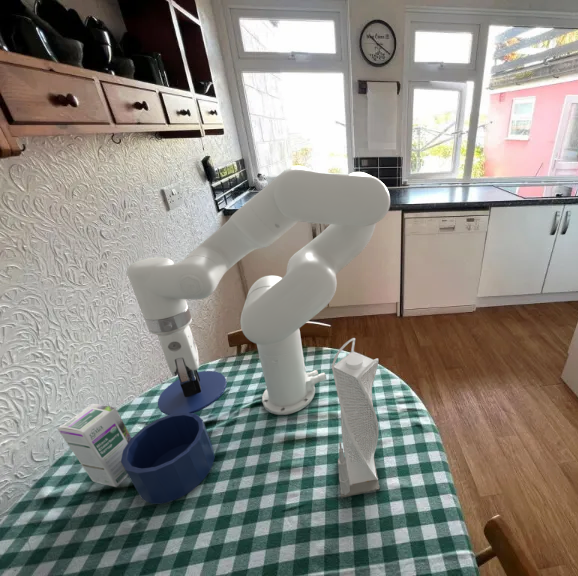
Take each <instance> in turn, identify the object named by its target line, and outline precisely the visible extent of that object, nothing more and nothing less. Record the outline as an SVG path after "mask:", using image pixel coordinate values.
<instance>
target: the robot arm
mask: <svg viewBox="0 0 578 576" xmlns="http://www.w3.org/2000/svg"><path fill="white" fill-rule="evenodd" d="M390 207H391V196H390V192H389V190H388V187H387V186H386V185H385V183H383V182H382V181H381V180H380V179H379V178H377V177H376V176H372V175H371V174H368V173H366V172H364V171H363V172H362V171H354V172H351V173H348V174H342V173H331V172H322V171H316V170H311V169H310V168H308V167H306V166H303V165H292V166H290V167H287V168H286V169H284V171H282V172H281V173H280V174H278V175H277V176H276V177H274V179H272V180H271V181H269V183H268V184H267V185H266V186H264V187H263V188H262V189H261V190H260V191H258V193H256V194H255V195H254V196H252V197H251V198H249V200H248V201H247V202H245V203H244V204H243V205H242V206H241V207H240V208H238V209H236V211H235V212H234V213H232V215H231V216H230V218H229V219H227V221H226V222H224V224H223V225H222V226H220V227H219V228H218V229H217V230H216V231H214V232H213V233H212V234H211V235H210V236H209V237H207V238H206V239H205V240H204V241H203V242H201V243H200V244H199V245H198V246H197V247H195V249H193V250H192V251H191V252H190V253H189V254H188V255H187V256H186V257H185V258H184V259H182V260H180V261H178V262H176V263H175V262H174V260H172V259H170V258H168V257H163V256H155V257H154V256H153V257H147V258H143V259H139V260H137V261H134V262H132V263H130V264H129V266H128V267H127V271H126V274H127V276H128V280H129V282H130V286H131V288H132V291H133V293H134V297H135V298H136V301H137V304H138V306H139V309H140V311H141V314H142V316H143V319H144V322H145V325H146V327H147V329H148V332H149V333H150V334H151V335H155V336H157V338H158V341H159V345H160V347H161V350H162V353H163V356H164V358H165V362H166V364H167V366H168V370H169V372H170V375H172V376H173V377H178V379H179V380H180V385H181V388H182V391H183V393H184V396H185V397H189V396H192V395H195V394H198V393H200V392H201V388H200V385H199V382H200V378H199V375H198V372H199V371H198V370H199V368H200V358H199V351H198V347H197V343H196V341H195V338H194V336H193V332H192V329H191V327H190V325H191V323H192V321H193V318H192V315H191V311H190V309H189V308H190V307H189V306H188V302H187V301H189V300H191V301H192V300H193V301H195V300H203V299H206V298H208V297H210V296H211V295H212V294H213V293H214V292H215V290H216V289H217V288H218V285H219V283H220V281H221V280H222V278H223V277H224V275H225V274H226V273H227V272H228V271H229V270H230V269H231V268H232V267H233V266H235V265H236V264H237V263H238V262H240V261H241V260H242V259H244V258H245V257H246V256H247V255H248V254H250V253H251V252H253V251H255V250H259V249H266V248H268V247H270V246H271V245H273V244H274V243H275V242H276V241H277V240H279V239H280V238H281V237H282V236H283V235H285V234H286V233H287V232H288V231H289V230H290V229H292V228H293V227H294V226H295V225H297V223H299V222H300V223H307V224H321V225H328V226H327V227H325V229H323V231H321V232H320V233H319V234H318V235H317V236H315V237H314V238H313V239H312V240H310V241H309V242H308V243H307V244H306V245H304V246H303V247H302V248H300V249H298V250H297V251H296V252H294V253H293V254H292V256H290V258H289V260H288V261H287V267H286V270H285V274H284V276H283V277H281V276H279V275H264V276H262V277H260V278H258V279H257V280H256V281H255V282H253V284H252V285H251V287H250V288H249V290H248V292H247V295H246V298H245V301H244V305H243V308H242V310H241V314H240V321H239V323H240V329H241V332H242V333H243V336H245V338H246V339H247V340H248V341H250V342H252V343H253V344H256V347H257V353H258V357H259V362H260V366H261V370H262V374H263V379H264V384H265V390H264V392H263V394H262V396H261V400H262V401H261V403H262V405H263V407H264V409H265V410H266V411H267V412H269V413H271V414H274V415H277V416H284V415H285V416H286V415H291V414H295V413H297V412H299V411H302V410H303V409H304V408H305V407H307V406H308V405H309V404H310V403H311V402H312V400H313V399H314V397H315V393H316V387H315V386H316V384H317V383H321V382H324V381H326V380H327V374H326V373H325V372H321V373H319V372H318V369H314V370H312V371H310V372H308V371H306V364H305V357H304V351H303V345H302V338H301V331H300V329H301V328H302V327H303V326H304V325H305V324H307V323H308V322H309V321H310V320H312V319H313V318H314V317H316V316H318V314H319V313H320V312H322V311H323V310H324V309H325V308H326V307H327V306H328V305H329V304H330V303H331V301H332V300H333V298H334V296H335V295H336V292H337V286H338V281H337V275H338V274H339V273H340V272H341V271H342V270H343V269H344V268H345V267H346V266H348V265H349V264H350V263H351V262H353V260H355V259H356V258H357V257H358V256H359V255H360V254H361V253H362V252H363V251H364V250H365V248H367V246H368V244H369V243H370V241H371V240H372V237H373V235H374V233H375V229H376V226H377V223H379V222H380V221H382V220H383V219H384V218H385V217H386V216H387V214H388V213H389V210H390ZM186 367H187V368H186ZM194 370H196V373H197V376H198V379H199V382H198V379H197V377H195V374H194ZM187 372H190V374H191V375H190V374H189V375H188V374H187Z"/></svg>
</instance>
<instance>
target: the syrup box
mask: <svg viewBox="0 0 578 576" xmlns="http://www.w3.org/2000/svg"><path fill="white" fill-rule="evenodd" d="M57 431H58V432H59V434H60V435H61V437H62V438H63V440H64V441H65V443H66V445H67V446H68V448H69V449H70V450H71V451H72V453H73V454H74V456H75V457H76V459H77V461H78V462H79V463H80V465H81V466H82V468H83V469H84V471H85V472H86V474H87V475H88V477H89V478H90V480H91V481H92V482H94V483H97V484H100V485H105V486H110V487H114V488H118V487H119V485H120V484H121V483H122V482H124V480H125V479H126V478H127V477H129V476H128V474H127V472H126V470H125V468H124V467H123V465H122V463H121V459H122V453H123V450H124V448H125V447H126V445H127V444H128V442H129V441H130V439H131V438H132V436H131V434H130V432H129V431H128V429H127V427H126V425H125V423H124V421H123V419H122V417H121V415H120V413H119V412H118V409H117V408H116V407H114V406H110V405H105V404H99V403H90V404H88V405H87V407H86V408H84V409H83V410H81V411H80V412H79V413H77V414H76V415H74V416H72V417H71V418H70V419H68V420H67V421H66V422H65V423H62V424H61V425H60V426H59V427H58V428H57Z"/></svg>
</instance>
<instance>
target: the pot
mask: <svg viewBox="0 0 578 576" xmlns="http://www.w3.org/2000/svg"><path fill="white" fill-rule="evenodd" d="M214 462H215V451H214V447H213V444H212V441H211V439H210V436H209V433H208V430H207V427H206V425H205V422H204V419H202V418H201V417H200V416H199V414H197V413H189V412H183V413H175V414H171V415H166V416H162V417H160V418H157V419H156V420H154V421H153V422H151V423H149V424H147V425H145V426H144V427H142V428H141V429H140V430H139V431H138V432H137V433H136V434H134V436H131V439H130V441H129V442H128V444H127V445H126V447H125V448H124V450H123V453H122V459H121V463H122V465H123V467H124V468H125V470H126V472H127V474H128V476H127V477H129V479H130V481H131V483H132V484H133V487H134V488H135V491H136V492H137V493H138V495H139V496H140V498H141V499H142V500H143V501H144V502H146V503H149V504H153V505H163V504H166V503H170V502H173V501H176V500H178V499H180V498H182V497H184V496H186V495H187V494H189V493H190V492H192V491H193V490H194V489H196V488H197V487H198V486H199V485H200V484H201V483H202V482H203V481H204V480H205V479H206V478H207V476H208V474H209V473H210V471H211V470H212V468H213V465H214Z"/></svg>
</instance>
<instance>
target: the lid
mask: <svg viewBox="0 0 578 576" xmlns="http://www.w3.org/2000/svg"><path fill="white" fill-rule="evenodd" d="M186 368H187V367H186ZM197 372H198V375H199V378H200V382H199V379H198V376H197V373H196V370H194V374H195V377H197V379H198V382H199V385H200V388H201V392H200V393H198V394H195V395H192V396H189V397H185V396H184V393H183V391H182V388H181V385H180V380H179V378H178V379H177V380H175V381H173V382H172V383H171V384H169V385H168V386H167V387H166V388H164V390H163V391H162V392H161V393H160V394H159V397H158V399H157V407H158V410H159V411H160V412H161V413H162V414H163V415H166V416H168V415H171V414H175V413H183V412H189V413H193V414H196V413H198V412H200V411H202V410H204V409H206V408H207V407H210V406H211V405H212V404H214V403H215V402H217V401H218V400H219V398H221V397H222V395H223V394H224V392H225V391H226V388H227V383H228V382H227V378H226V376H225V375H224V374H222V373H221V372H219V371H216V370H215V371H214V370H203V371H197ZM187 374H188V375H189V374H190V372H187ZM190 375H191V374H190Z"/></svg>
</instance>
